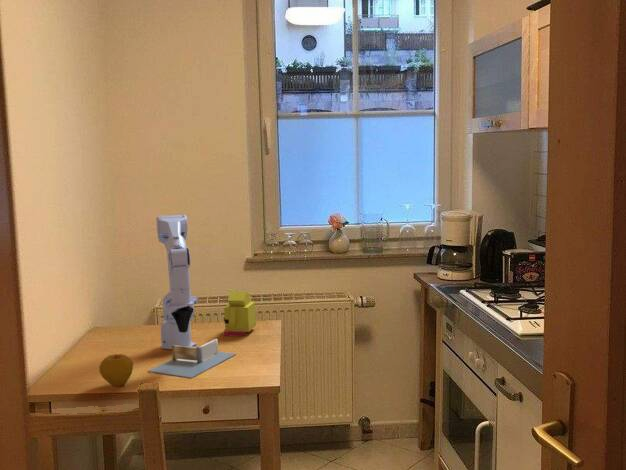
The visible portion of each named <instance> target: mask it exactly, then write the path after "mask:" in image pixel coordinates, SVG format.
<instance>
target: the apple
mask: <svg viewBox="0 0 626 470" xmlns="http://www.w3.org/2000/svg"><path fill="white" fill-rule="evenodd" d="M133 365H134V363H133V361H132V359H131V358H130V356H127V355H125V354H123V353H121V354H120V353H119V354H117V353H115V354H109V355H108V356H106V357H104V358H103V360H102V361H101V362H100V364H99V367H98V368H99V369H98V371H99V374H100V376H101V378H103V379H104V380H105V381H106V382H108V383H109V384H110V385H111V386H113V387H122V386H124V385H125V384H126V383H127V382H128V380H129V379H130V378H131V375H132V374H133V373H132V372H133V369H134V367H133Z"/></svg>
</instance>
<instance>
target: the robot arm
mask: <svg viewBox="0 0 626 470" xmlns="http://www.w3.org/2000/svg"><path fill="white" fill-rule="evenodd" d="M156 232H157V233H156V234H157V239H158V242H159V243H162V245H163V244H164V247H165V249H166V258H167V268H168V280H169V283H168V284H169V292H168V293H166V294H165V295H164V296H163V298H162V316H163V320H164V321H162V322H161V325H160V338H161V339H160V340H161V341H160V342H161V346H159V348H161V349H165V350H172V345H179V346H191V347H195V346H196V345H198V343H197V342H193V341H192V331H191V319H193V318H194V317H195V310H194V309H195V308H194V307H195V306H194V305H198V304H199V297H197V296H192V294H191V280H190V279H191V278H190V267H191V252H190V248H189V247H188V246H187V243H186V240H187V237H188V219H187V215H186V214H185V213H184V214H177V215H176V214H175V215H157V216H156Z"/></svg>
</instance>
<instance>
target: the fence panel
mask: <svg viewBox="0 0 626 470" xmlns="http://www.w3.org/2000/svg"><path fill="white" fill-rule="evenodd" d="M196 347H197V346H192V347H191V346H179V345H172V349H171V357H172V358H171V360H176V359H184V360H195V361H196V360H197V349H196Z"/></svg>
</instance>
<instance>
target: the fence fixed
mask: <svg viewBox="0 0 626 470" xmlns="http://www.w3.org/2000/svg"><path fill="white" fill-rule="evenodd" d="M195 347H196V349H197V363H202V360H203V359H205V358H207V357H209V356H211V355H213V354H218V352H219V344H218V339H217V338H214V339H212V340H211V341H208V342H206V343H204V344H202V345H200V346H195Z"/></svg>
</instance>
